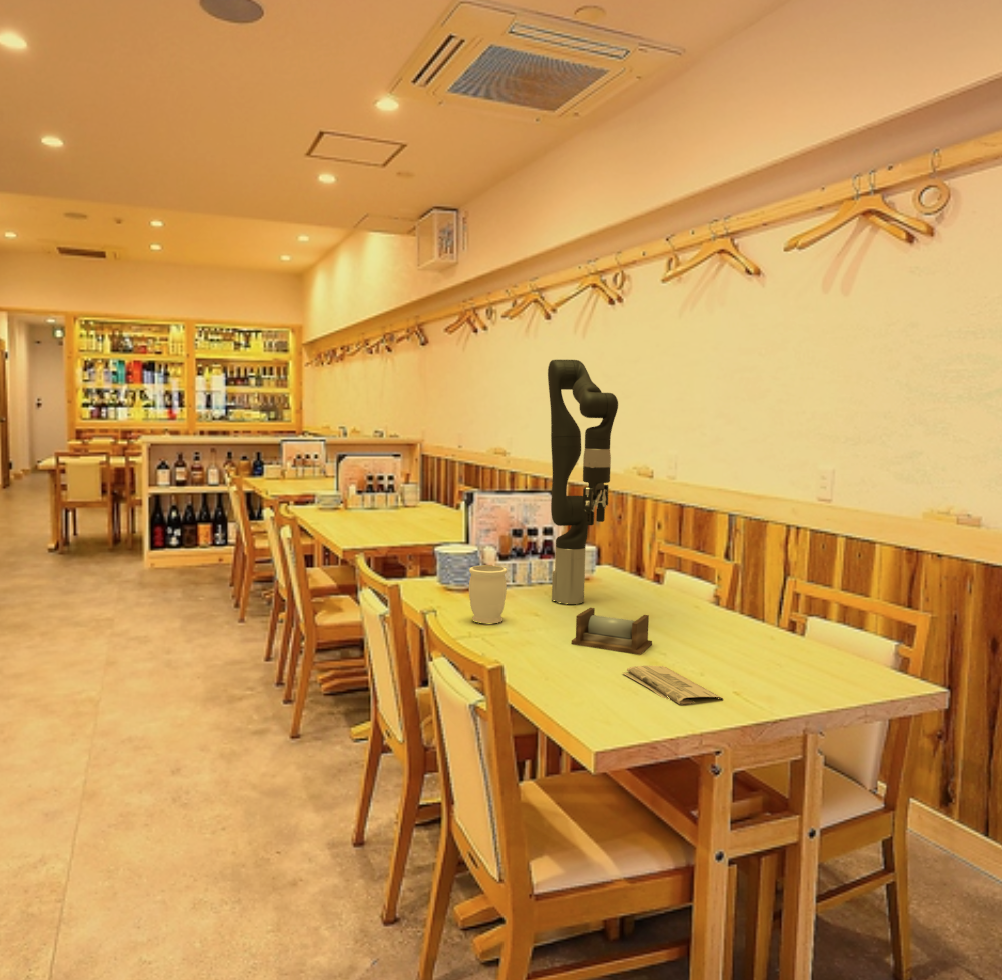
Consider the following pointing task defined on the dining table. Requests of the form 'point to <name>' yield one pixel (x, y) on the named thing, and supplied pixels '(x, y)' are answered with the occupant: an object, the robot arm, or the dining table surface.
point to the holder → (612, 643)
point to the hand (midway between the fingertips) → (595, 523)
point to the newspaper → (668, 683)
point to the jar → (487, 593)
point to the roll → (610, 626)
